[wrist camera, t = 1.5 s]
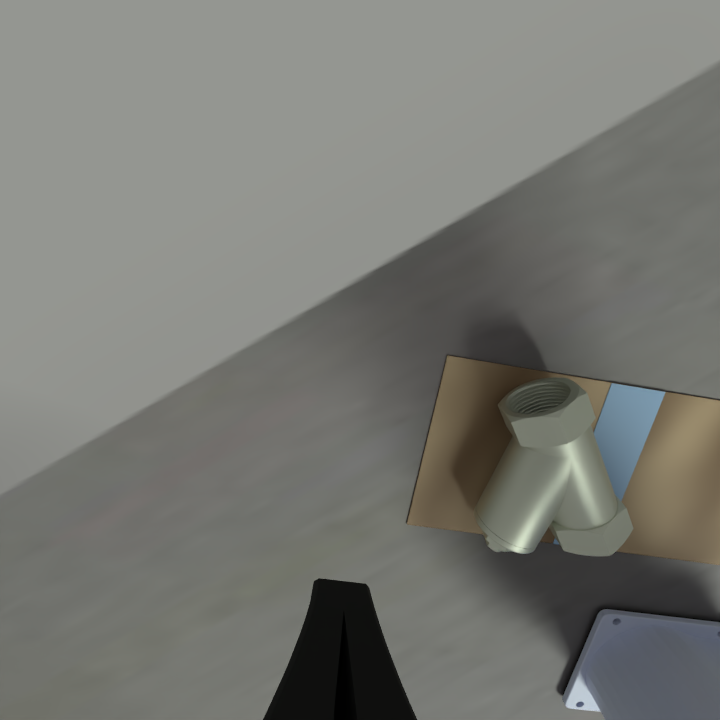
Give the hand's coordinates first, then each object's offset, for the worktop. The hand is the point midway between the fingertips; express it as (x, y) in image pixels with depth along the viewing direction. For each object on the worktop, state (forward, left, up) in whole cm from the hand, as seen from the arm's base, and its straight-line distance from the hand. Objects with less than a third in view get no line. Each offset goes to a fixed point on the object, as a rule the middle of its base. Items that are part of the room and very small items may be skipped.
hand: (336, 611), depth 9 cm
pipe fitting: (-10, 0, -10) cm, 14 cm away
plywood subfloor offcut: (-15, 0, -10) cm, 18 cm away
